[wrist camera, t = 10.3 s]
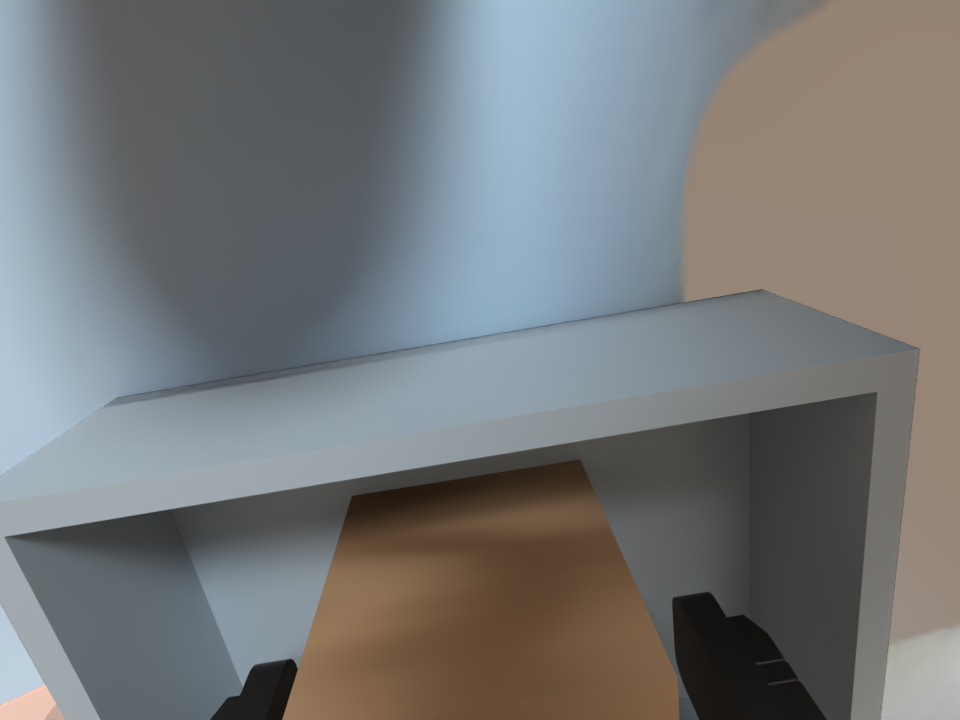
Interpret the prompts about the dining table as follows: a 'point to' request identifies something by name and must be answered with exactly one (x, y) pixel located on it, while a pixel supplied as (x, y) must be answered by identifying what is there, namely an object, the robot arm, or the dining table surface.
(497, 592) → the block
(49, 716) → the light box
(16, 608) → the tote
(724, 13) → the dining table surface
